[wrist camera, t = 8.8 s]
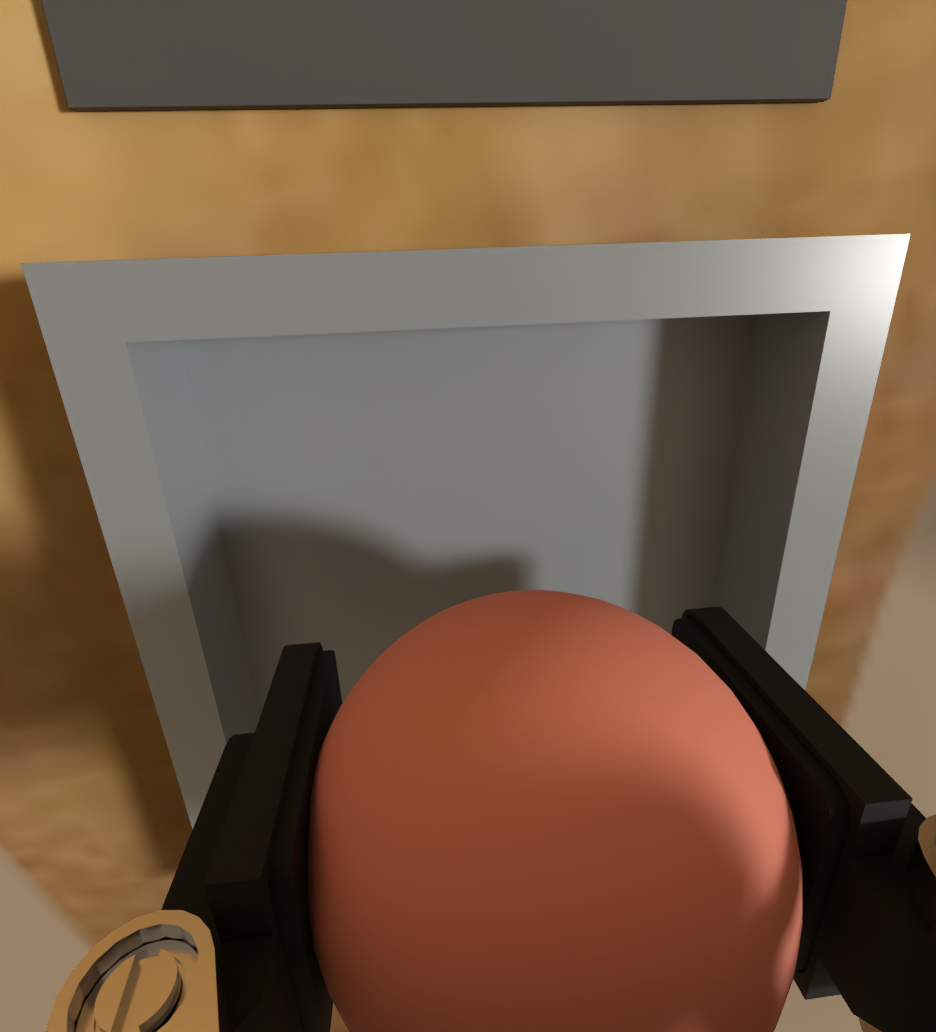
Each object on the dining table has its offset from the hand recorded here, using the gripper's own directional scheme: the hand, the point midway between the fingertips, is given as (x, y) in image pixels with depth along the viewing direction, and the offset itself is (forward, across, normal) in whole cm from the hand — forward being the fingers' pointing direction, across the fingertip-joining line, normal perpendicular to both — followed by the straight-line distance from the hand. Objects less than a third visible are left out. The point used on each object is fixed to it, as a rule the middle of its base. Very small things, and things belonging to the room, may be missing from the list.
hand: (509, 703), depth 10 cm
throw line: (+3, 0, -10) cm, 11 cm away
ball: (-2, 0, 0) cm, 2 cm away
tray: (+3, 0, 0) cm, 3 cm away
